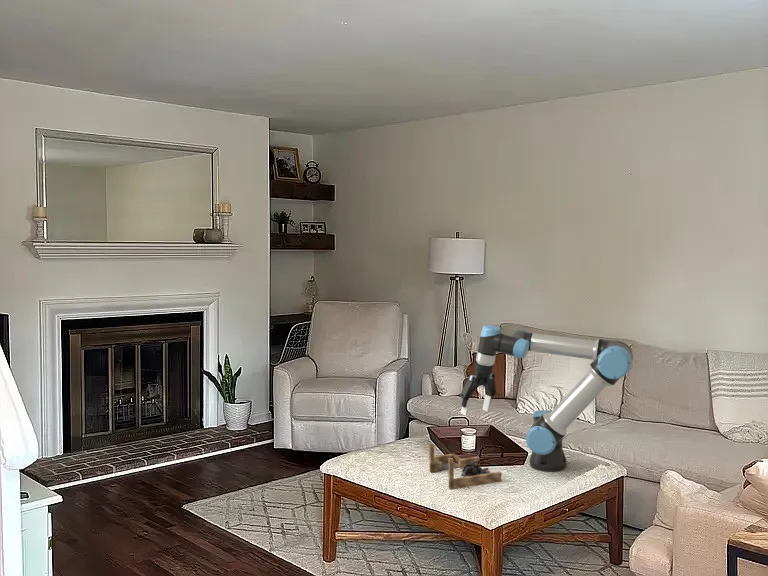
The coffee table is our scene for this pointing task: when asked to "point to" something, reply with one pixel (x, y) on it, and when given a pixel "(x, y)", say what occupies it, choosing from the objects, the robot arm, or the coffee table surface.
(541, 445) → the robot arm
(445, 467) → the mat
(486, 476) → the wooden rail pieces
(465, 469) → the stuffed animal
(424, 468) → the coffee table surface
